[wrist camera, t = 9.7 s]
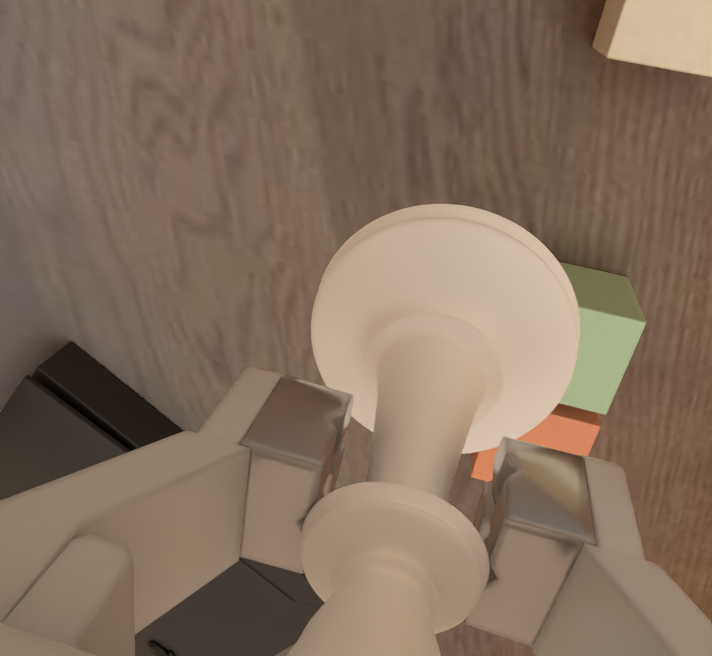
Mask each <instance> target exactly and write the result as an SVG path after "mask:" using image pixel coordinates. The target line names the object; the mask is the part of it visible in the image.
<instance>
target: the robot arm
mask: <svg viewBox="0 0 712 656" xmlns="http://www.w3.org/2000/svg"><path fill="white" fill-rule="evenodd" d="M352 405H353V395H352V394H349V393H346V392H342V391H339V390H335V389H332V388H328V387H325V386H322V385H318V384H315V383H311V382H308V381H304V380H301V379H298V378H294V377H291V376H287V375H285V376H284V375H283V374H280V373H277V372H273V371H269V370H265V369H262V368H258V367H254V366H249V367H247V368H245V369H244V370H243V371H242V372H241V374H240V375H239V376H238V378H237V379H236V380H235V382H234V383H233V385H232V386H231V387H230V389H229V390H228V391H227V393H226V394H225V395H224V397H223V398H222V400H221V401H220V402H219V404H218V405H217V406H216V408H215V409H214V410H213V412H212V413H211V415H210V416H209V417H208V419H207V420H206V421H205V423H204V424H203V425H202V427H201V428H200V429H199V431H198V432H197V433H195V432H192V431H188V430H185V431H183V432H180V433H178V434H175V435H172V436H170V437H167V438H164V439H162V440H159V441H156V442H154V443H151V444H148V445H146V446H143V447H141V448H138V449H135V450H133V451H130V452H127V453H125V454H122V455H119V456H117V457H114V458H112V459H109V460H106V461H104V462H101V463H98V464H96V465H93V466H90V467H88V468H85V469H82V470H80V471H77V472H75V473H72V474H69V475H67V476H64V477H61V478H59V479H56V480H53V481H51V482H48V483H46V484H43V485H40V486H38V487H35V488H32V489H30V490H27V491H24V492H22V493H19V494H17V495H14V496H11V497H9V498H6V499H3V500H1V501H0V656H135V634H137V633H138V632H139V631H141V630H142V629H144V628H145V627H146V626H148V625H149V624H151V623H152V622H153V621H155V620H156V619H158V618H159V617H160V616H162V615H163V614H165V613H166V612H167V611H169V610H170V609H172V608H173V607H175V606H176V605H177V604H179V603H180V602H182V601H183V600H184V599H186V598H187V597H189V596H190V595H191V594H193V593H194V592H196V591H197V590H198V589H200V588H201V587H203V586H204V585H205V584H207V583H208V582H210V581H211V580H212V579H214V578H215V577H217V576H218V575H219V574H221V573H222V572H224V571H225V570H226V569H228V568H229V567H231V566H232V565H233V564H235V563H236V562H238V561H239V557H243V558H246V559H250V560H254V561H257V562H261V563H264V564H268V565H272V566H275V567H279V568H283V569H286V570H290V571H293V572H297V573H301V574H303V572H304V570H303V567H302V562H301V547H302V546H301V533H302V528H303V524H304V521H305V519H306V517H307V515H308V513H309V512H310V510H311V509H312V507H313V506H314V505H315V504H316V503H317V502H318V501H319V500H320V499H322V498H323V497H324V496H326V495H327V494H329V493H331V492H333V490H334V487H335V484H336V480H337V477H338V473H339V469H340V465H341V461H342V457H343V452H344V447H345V444H344V442H343V437H344V434H345V432H346V429H347V426H348V424H349V421H350V417H351V411H352ZM473 526H474V527H475V528H476V530H477V531H478V533H479V534H480V536H481V538H482V539H483V541H484V544H485V546H486V549H487V552H488V557H489V564H490V570H489V577H488V582H487V585H486V587H485V589H484V591H483V593H482V595H481V597H480V600H479V602H478V604H477V606H476V608H475V609H474V611H473V612H472V613H471V614H470V615H469V616H468V617H467V618H466V619H465V624H467V625H470V626H473V627H476V628H479V629H482V630H485V631H488V632H491V633H494V634H497V635H500V636H503V637H506V638H509V639H512V640H515V641H518V642H521V643H524V644H527V645H530V646H533V648H532V651H533V653H534V655H535V656H712V622H711V621H710V620H709V619H708V618H707V617H706V616H705V615H704V614H703V612H702V611H701V610H700V609H699V608H698V607H697V606H696V605H695V604H694V603H693V602H692V600H691V599H690V598H689V597H688V596H687V595H686V594H685V593H684V592H683V591H682V590H681V588H680V587H679V586H678V585H677V584H676V583H675V582H674V581H673V580H672V579H671V578H670V577H669V575H668V574H667V573H666V572H665V571H664V570H663V569H662V568H661V567H660V566H659V565H658V564H655V563H652V562H648V561H646V559H645V555H644V550H643V546H642V542H641V538H640V534H639V530H638V526H637V521H636V517H635V513H634V509H633V505H632V501H631V496H630V492H629V488H628V484H627V480H626V476H625V471H624V469H623V468H622V467H621V466H620V465H619V464H617V463H613V462H608V461H604V460H600V459H596V458H592V457H587V456H583V455H580V456H579V455H575V454H571V453H567V452H563V451H559V450H556V449H552V448H548V447H544V446H540V445H536V444H532V443H528V442H525V441H521V440H517V439H513V438H509V437H505V436H503V438H502V440H501V442H500V444H499V446H498V449H497V452H496V455H495V457H494V463H493V480H491V481H489V482H488V483H486V484H485V485H484V488H483V491H482V494H481V497H480V500H479V504H478V508H477V512H476V515H475V519H474V524H473Z"/></svg>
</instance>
